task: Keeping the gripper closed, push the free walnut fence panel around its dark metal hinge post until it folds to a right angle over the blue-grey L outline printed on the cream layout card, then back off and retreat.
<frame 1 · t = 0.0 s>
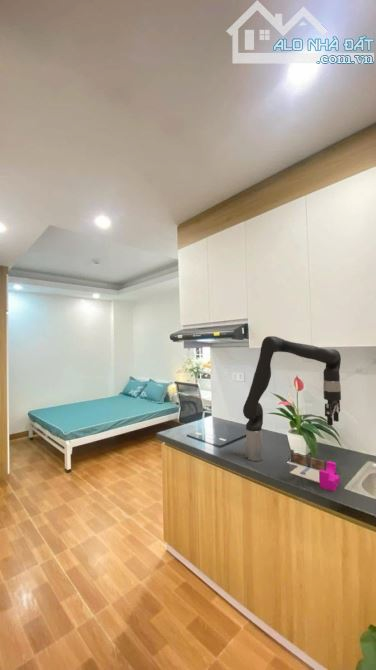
hand: (333, 423, 135), 29 cm above the counter, fingers open, 8 cm apart
layout card: (310, 472, 146), on the counter
fence fixed: (308, 467, 152), resting on layout card
toy block: (331, 483, 135), on the counter
fence panel: (319, 463, 148), point 4 cm above the counter, hinge at 0.0°
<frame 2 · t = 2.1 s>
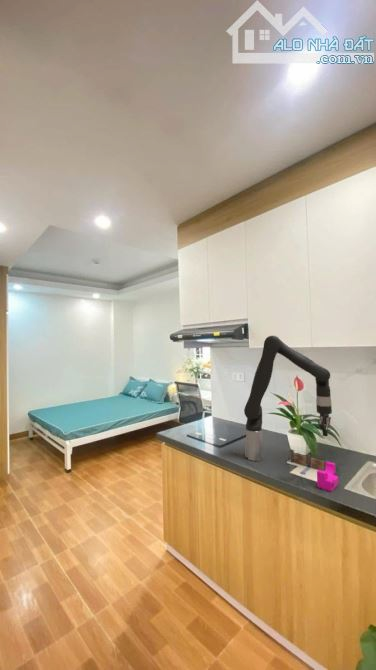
hand: (325, 435, 152), 17 cm above the counter, fingers closed
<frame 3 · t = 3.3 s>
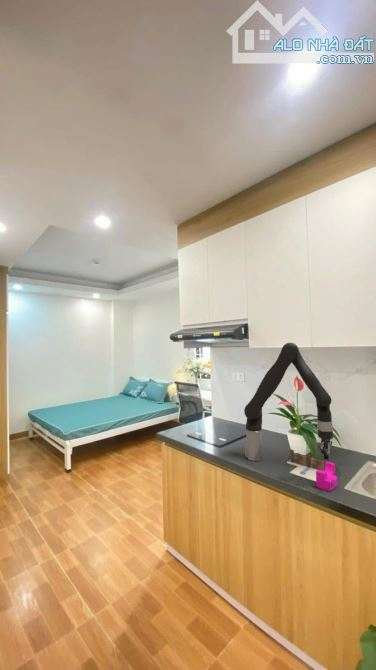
hand: (326, 460, 151), 4 cm above the counter, fingers closed
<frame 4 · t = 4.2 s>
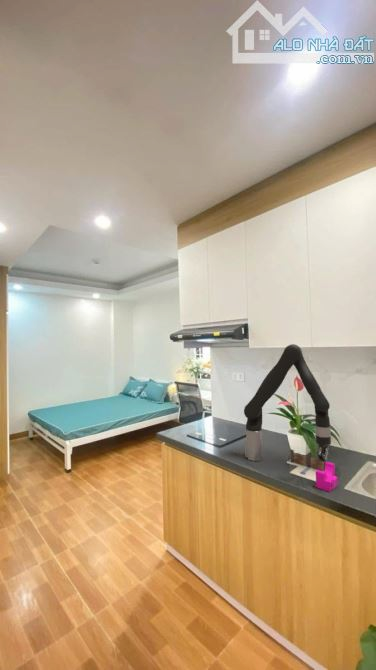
hand: (324, 466, 149), 1 cm above the counter, fingers closed
fence panel: (319, 464, 148), point 4 cm above the counter, hinge at -0.9°, touching gripper
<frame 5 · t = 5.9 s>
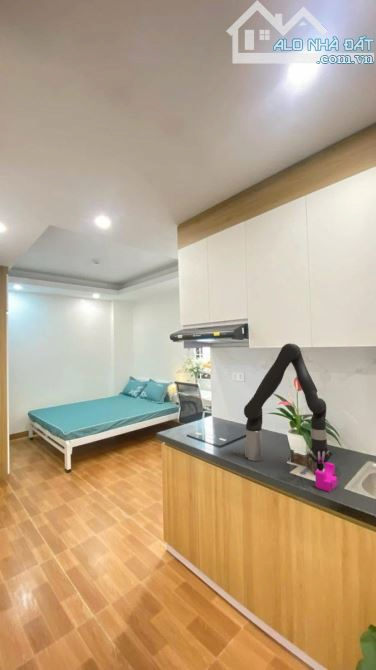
hand: (320, 470, 145), 2 cm above the counter, fingers closed
fence panel: (312, 465, 146), point 4 cm above the counter, hinge at -48.2°, touching gripper
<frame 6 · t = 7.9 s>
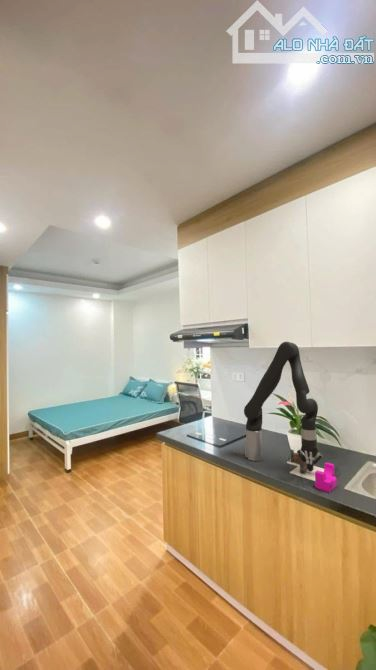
hand: (310, 470, 145), 2 cm above the counter, fingers closed
toy block: (328, 485, 134), on the counter, touching layout card
fence panel: (304, 464, 148), point 4 cm above the counter, hinge at -89.7°, touching gripper
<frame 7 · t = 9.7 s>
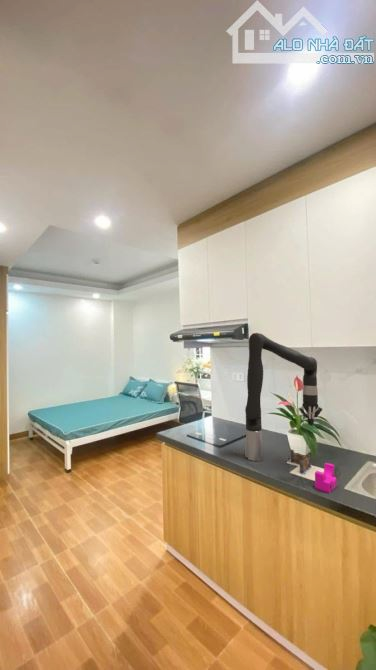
hand: (310, 425, 151), 24 cm above the counter, fingers closed
toy block: (327, 485, 133), on the counter
fence panel: (304, 464, 148), point 4 cm above the counter, hinge at -89.8°
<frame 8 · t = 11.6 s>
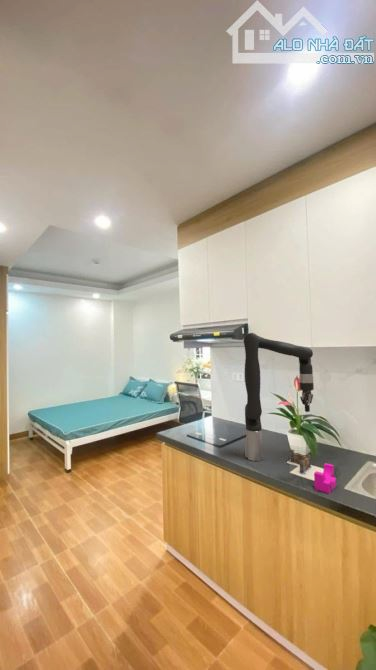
hand: (307, 411, 159), 29 cm above the counter, fingers closed
at the end: fence panel at -90° (first picture: +0°); fence panel touching nothing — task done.
